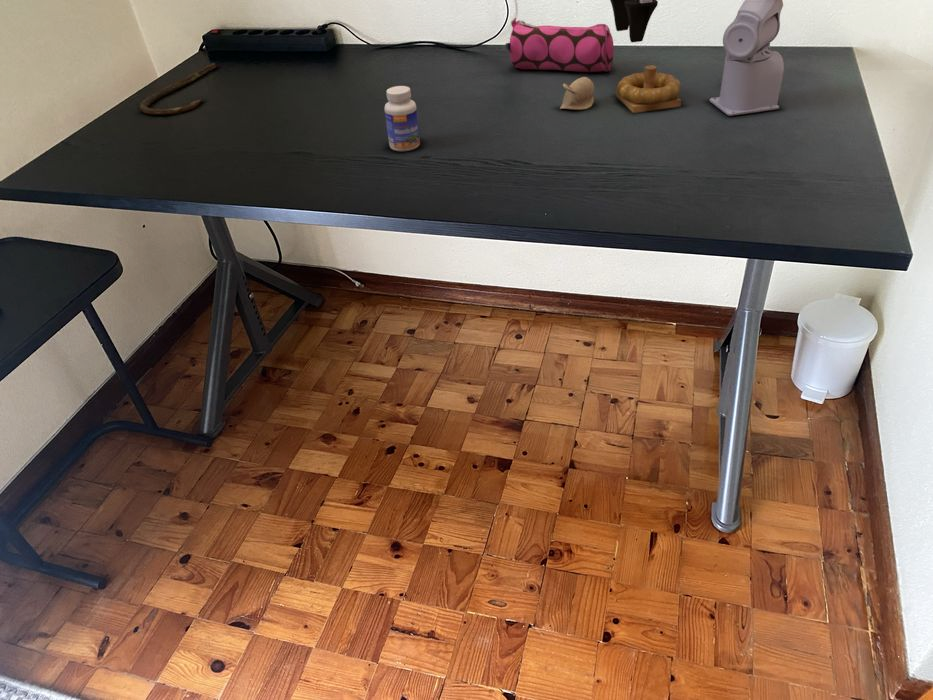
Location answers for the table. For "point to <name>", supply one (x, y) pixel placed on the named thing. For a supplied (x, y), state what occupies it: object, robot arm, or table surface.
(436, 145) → the table surface
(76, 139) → the table surface
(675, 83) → the ring
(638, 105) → the stand
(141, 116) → the table surface
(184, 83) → the hook
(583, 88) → the decorative ornament
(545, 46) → the pencil case
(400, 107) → the pill bottle
